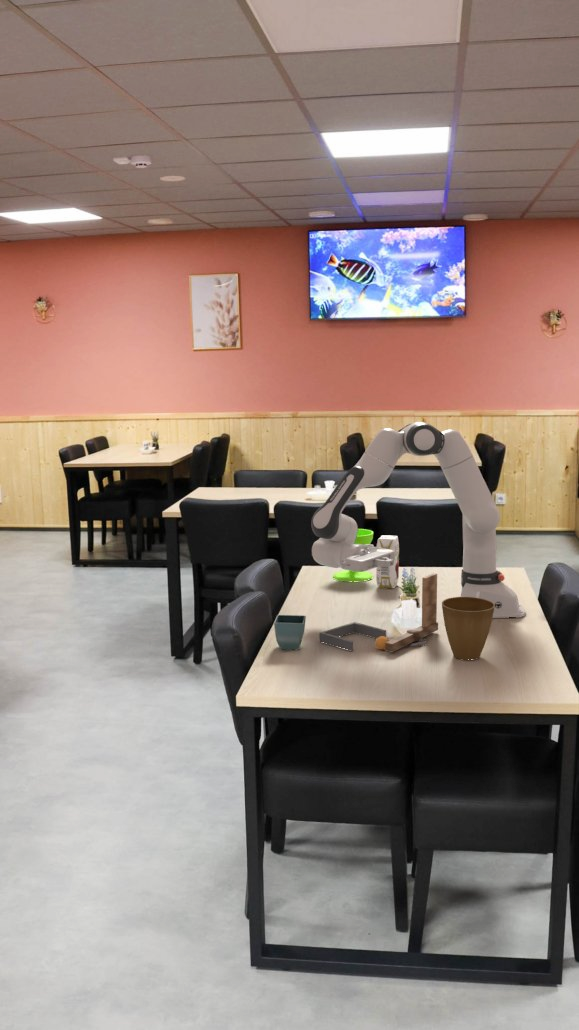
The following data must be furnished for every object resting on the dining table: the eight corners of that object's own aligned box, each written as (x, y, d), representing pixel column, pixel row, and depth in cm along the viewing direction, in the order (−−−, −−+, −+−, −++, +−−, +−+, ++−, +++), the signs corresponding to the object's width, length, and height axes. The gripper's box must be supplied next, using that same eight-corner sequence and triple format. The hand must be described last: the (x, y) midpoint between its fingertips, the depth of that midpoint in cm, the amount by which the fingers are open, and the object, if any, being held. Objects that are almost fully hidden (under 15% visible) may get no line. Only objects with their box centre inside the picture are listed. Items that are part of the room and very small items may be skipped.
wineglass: (379, 580, 360) (379, 534, 357) (340, 583, 355) (340, 537, 352) (364, 571, 375) (364, 527, 372) (327, 574, 371) (326, 530, 367)
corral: (386, 639, 286) (386, 630, 285) (350, 651, 275) (350, 641, 274) (354, 631, 295) (354, 621, 294) (319, 642, 284) (319, 632, 284)
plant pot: (430, 655, 270) (430, 602, 267) (464, 645, 279) (466, 593, 276) (468, 668, 259) (470, 613, 256) (504, 658, 267) (505, 604, 265)
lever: (429, 628, 294) (429, 572, 291) (440, 630, 291) (441, 574, 288) (382, 649, 273) (383, 590, 270) (394, 652, 270) (395, 592, 267)
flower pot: (306, 643, 283) (305, 615, 282) (303, 652, 274) (303, 623, 273) (277, 642, 284) (277, 614, 282) (274, 652, 275) (273, 622, 274)
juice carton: (375, 588, 348) (375, 538, 344) (379, 583, 356) (380, 534, 352) (395, 589, 345) (395, 539, 342) (399, 584, 353) (399, 535, 350)
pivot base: (408, 637, 288) (408, 635, 288) (431, 641, 283) (431, 639, 283) (395, 643, 282) (395, 641, 282) (418, 648, 277) (418, 646, 277)
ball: (389, 647, 278) (389, 634, 278) (388, 651, 274) (388, 638, 274) (375, 647, 279) (375, 634, 278) (375, 651, 275) (375, 638, 274)
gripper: (337, 553, 294) (373, 559, 286) (372, 543, 310) (408, 548, 302) (337, 573, 296) (373, 579, 287) (372, 561, 311) (408, 567, 303)
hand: (391, 563), depth 295 cm, fingers closed
